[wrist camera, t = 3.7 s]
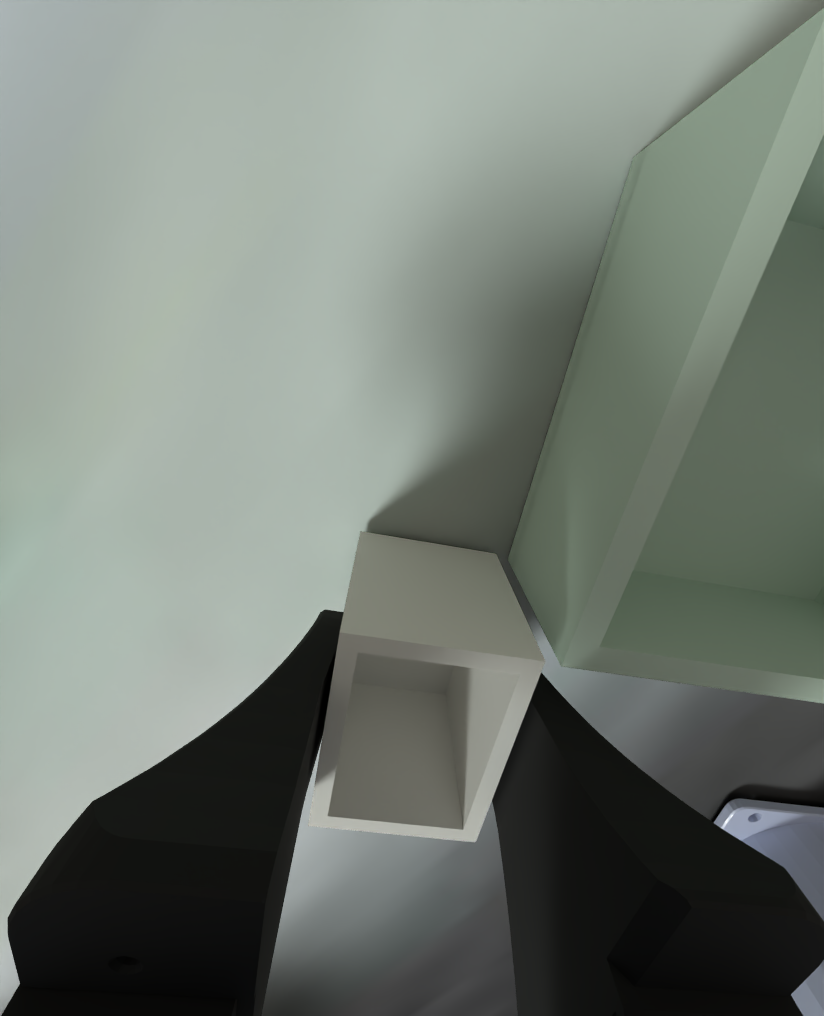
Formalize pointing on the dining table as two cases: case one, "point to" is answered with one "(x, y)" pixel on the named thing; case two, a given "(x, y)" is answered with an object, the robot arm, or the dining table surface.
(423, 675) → the small crate
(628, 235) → the big crate
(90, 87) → the dining table surface
